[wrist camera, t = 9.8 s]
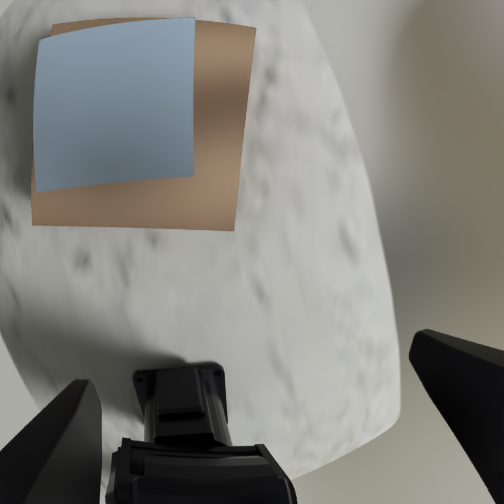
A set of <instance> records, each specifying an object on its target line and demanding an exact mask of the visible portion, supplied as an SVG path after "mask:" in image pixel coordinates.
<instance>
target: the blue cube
mask: <svg viewBox="0 0 504 504" xmlns="http://www.w3.org/2000/svg"><path fill="white" fill-rule="evenodd" d="M194 36H195V18H175V19H157V20H144V21H134V22H125V23H118V24H111V25H104V26H98V27H92V28H87V29H82V30H77V31H72V32H68V33H63V34H59V35H55V36H51V37H47V38H44V39H40V40H39V46H38V54H37V63H36V73H35V86H34V107H33V148H34V169H35V183H36V193H38V192H44V191H51V190H58V189H65V188H72V187H80V186H88V185H97V184H106V183H115V182H125V181H136V180H148V179H160V178H174V177H191V176H194V140H193V77H194Z"/></svg>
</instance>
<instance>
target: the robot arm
mask: <svg viewBox="0 0 504 504" xmlns="http://www.w3.org/2000/svg"><path fill="white" fill-rule="evenodd" d="M409 360H410V363H411V364H412V366H413V368H414V370H415V372H416V373H417V375H418V377H419V379H420V381H421V382H422V384H423V386H424V388H425V390H426V392H427V393H428V395H429V397H430V398H431V400H432V402H433V403H434V405H435V406H436V408H437V409H438V411H439V412H440V414H441V415H442V417H443V418H444V420H445V421H446V423H447V424H448V426H449V427H450V429H451V430H452V432H453V433H454V435H455V437H456V438H457V440H458V441H459V443H460V444H461V446H462V448H463V449H464V451H465V452H466V454H467V455H468V457H469V459H470V461H471V462H472V464H473V465H474V467H475V469H476V470H477V472H478V474H479V475H480V477H481V479H482V480H483V482H484V484H485V485H486V487H487V489H488V491H489V493H490V495H491V496H492V498H493V500H494V502H495V503H496V504H504V351H503V350H499V349H495V348H492V347H489V346H485V345H481V344H477V343H474V342H471V341H467V340H464V339H461V338H457V337H453V336H450V335H447V334H443V333H440V332H437V331H433V330H430V329H424V330H420V331H418V332H416V333H415V335H414V337H413V341H412V344H411V347H410V351H409ZM215 371H219V372H218V373H215ZM137 377H141V378H142V379H139V378H137ZM133 382H134V386H135V389H136V393H137V396H138V399H139V403H140V406H141V409H142V412H143V415H144V419H145V424H144V442H143V441H135V440H131V439H130V438H123V437H122V445H121V447H118V451H116V452H114V453H112V462H111V473H110V478H109V482H108V487H107V491H106V496H105V502H106V504H297V497H296V493H295V489H294V487H293V484H292V482H291V481H290V479H289V478H288V476H287V475H286V474H285V472H284V471H283V470H282V468H281V467H280V466H279V464H278V463H277V462H276V460H275V459H274V458H273V456H272V455H271V454H270V452H269V451H268V449H267V448H266V447H265V445H264V444H255V445H254V446H233V445H232V442H231V438H230V434H229V430H228V426H227V424H228V417H227V403H226V389H225V373H224V369H223V367H222V366H221V365H208V366H198V367H188V368H176V369H162V370H145V371H136V372H134V374H133ZM101 471H102V409H101V403H100V400H99V398H98V395H97V393H96V390H95V387H94V385H93V382H92V381H91V380H90V379H75V380H73V381H72V382H71V383H70V384H69V385H68V386H67V387H66V388H65V389H64V390H63V391H62V392H60V393H59V394H58V395H57V396H56V397H55V398H54V399H53V400H52V401H51V402H50V403H49V404H48V405H47V406H46V407H45V408H44V409H43V410H42V411H41V412H40V413H38V414H37V416H35V417H34V418H33V419H32V420H31V421H30V422H29V423H28V424H27V425H26V426H25V427H24V428H23V429H22V430H21V431H20V432H19V433H18V434H17V435H16V436H15V437H14V438H13V439H12V440H11V441H10V442H9V443H8V444H7V445H6V446H5V447H4V448H3V449H2V450H1V451H0V504H99V502H100V485H101Z"/></svg>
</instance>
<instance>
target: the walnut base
mask: <svg viewBox="0 0 504 504" xmlns="http://www.w3.org/2000/svg"><path fill="white" fill-rule="evenodd" d="M157 19H173V18H114V19H98V20H87V21H77V22H69V23H61V24H55V25H53V26H52V29H51V33H50V37H51V36H55V35H59V34H63V33H68V32H72V31H77V30H82V29H87V28H92V27H98V26H104V25H111V24H118V23H125V22H134V21H144V20H157ZM255 35H256V28H254V27H248V26H242V25H235V24H228V23H220V22H211V21H202V20H195V36H194V77H193V140H194V176H191V177H174V178H160V179H148V180H136V181H125V182H115V183H106V184H97V185H88V186H80V187H72V188H65V189H58V190H51V191H44V192H38V193H36V183H35V169H34V148H33V146H32V168H31V208H32V225H33V226H91V227H130V228H162V229H190V230H215V231H234V226H235V215H236V205H237V195H238V185H239V175H240V166H241V156H242V147H243V137H244V128H245V119H246V110H247V101H248V93H249V84H250V76H251V67H252V59H253V51H254V43H255Z"/></svg>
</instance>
